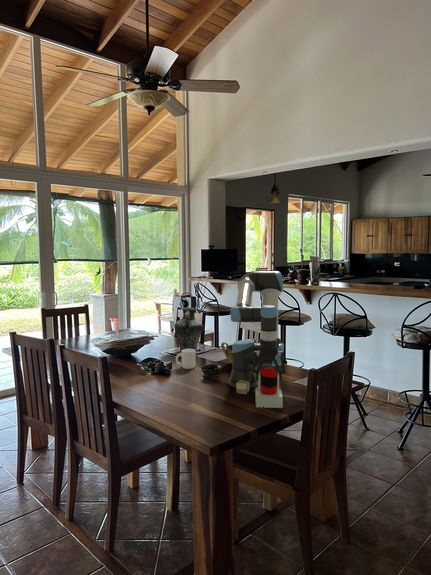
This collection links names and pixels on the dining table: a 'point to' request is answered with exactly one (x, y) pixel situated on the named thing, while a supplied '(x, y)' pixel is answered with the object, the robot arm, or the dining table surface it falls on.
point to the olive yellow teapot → (229, 350)
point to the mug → (187, 358)
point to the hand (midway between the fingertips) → (268, 387)
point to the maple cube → (242, 387)
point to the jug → (188, 329)
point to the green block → (269, 399)
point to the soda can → (268, 380)
